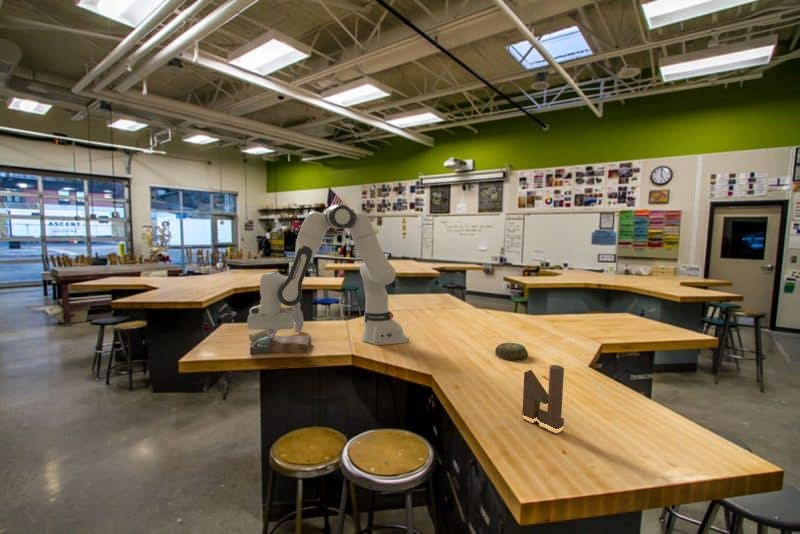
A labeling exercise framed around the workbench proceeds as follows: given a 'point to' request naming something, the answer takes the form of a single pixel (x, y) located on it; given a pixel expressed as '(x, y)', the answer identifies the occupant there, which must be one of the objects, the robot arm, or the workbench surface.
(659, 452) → the workbench surface
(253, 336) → the hammer
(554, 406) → the brown letter n
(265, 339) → the tile
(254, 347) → the tray
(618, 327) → the workbench surface
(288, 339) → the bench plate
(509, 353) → the weight
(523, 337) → the workbench surface
